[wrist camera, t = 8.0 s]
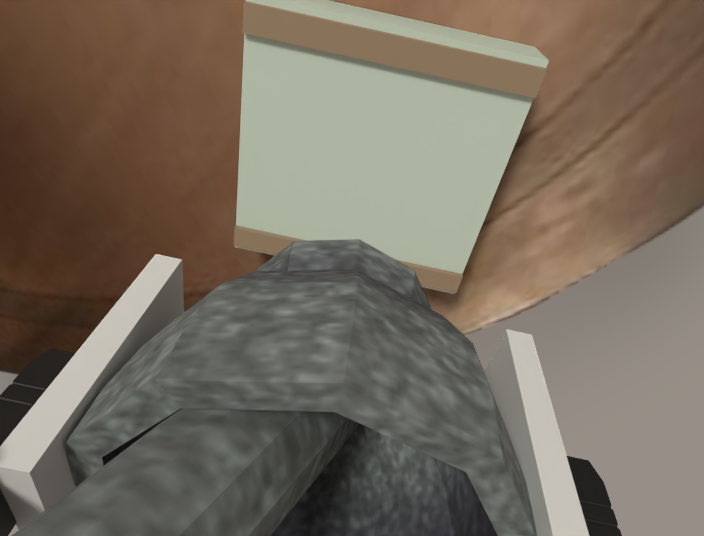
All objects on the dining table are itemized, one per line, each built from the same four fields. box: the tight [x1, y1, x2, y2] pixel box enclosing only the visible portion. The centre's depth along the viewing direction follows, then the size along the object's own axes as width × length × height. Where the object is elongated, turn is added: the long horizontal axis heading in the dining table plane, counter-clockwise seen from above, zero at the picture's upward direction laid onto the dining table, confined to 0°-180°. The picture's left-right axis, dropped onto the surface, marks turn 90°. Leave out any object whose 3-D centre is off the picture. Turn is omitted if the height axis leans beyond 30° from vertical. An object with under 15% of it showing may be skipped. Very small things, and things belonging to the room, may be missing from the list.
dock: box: [234, 0, 549, 294], centre depth 25 cm, size 13×13×3 cm
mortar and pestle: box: [12, 239, 537, 536], centre depth 10 cm, size 11×9×12 cm
